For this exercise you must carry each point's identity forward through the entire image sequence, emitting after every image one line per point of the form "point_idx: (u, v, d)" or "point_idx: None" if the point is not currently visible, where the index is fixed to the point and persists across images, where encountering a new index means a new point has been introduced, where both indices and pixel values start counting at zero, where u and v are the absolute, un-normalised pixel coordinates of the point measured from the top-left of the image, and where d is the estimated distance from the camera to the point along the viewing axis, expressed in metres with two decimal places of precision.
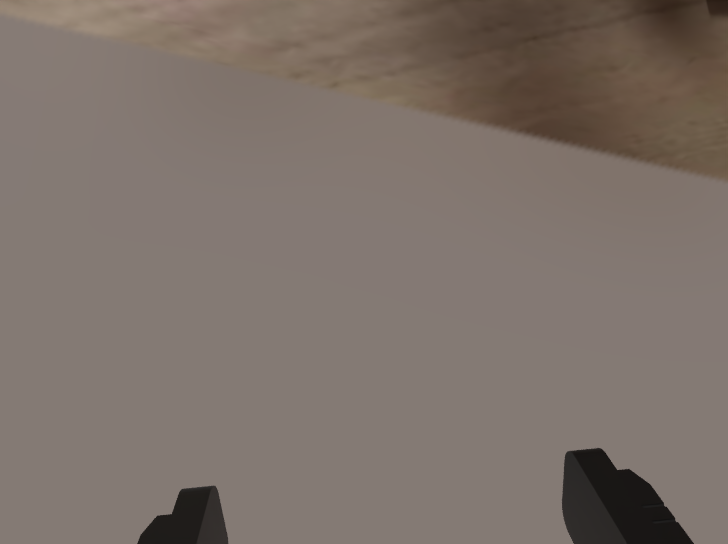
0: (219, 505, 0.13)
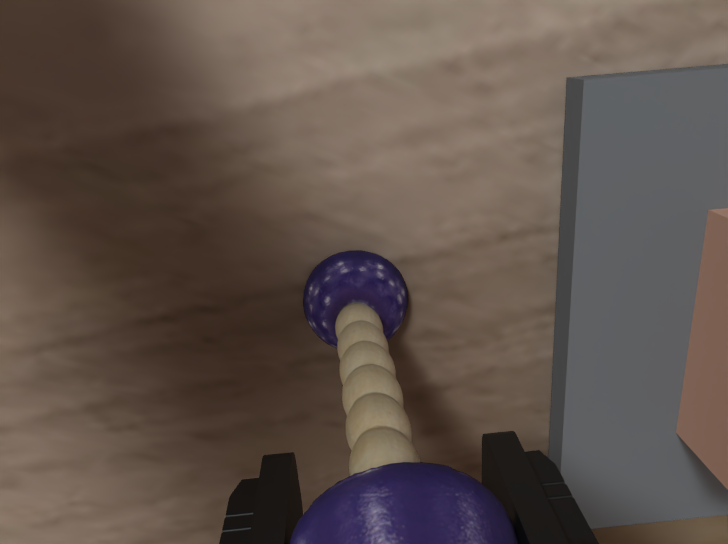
0: (296, 471, 0.14)
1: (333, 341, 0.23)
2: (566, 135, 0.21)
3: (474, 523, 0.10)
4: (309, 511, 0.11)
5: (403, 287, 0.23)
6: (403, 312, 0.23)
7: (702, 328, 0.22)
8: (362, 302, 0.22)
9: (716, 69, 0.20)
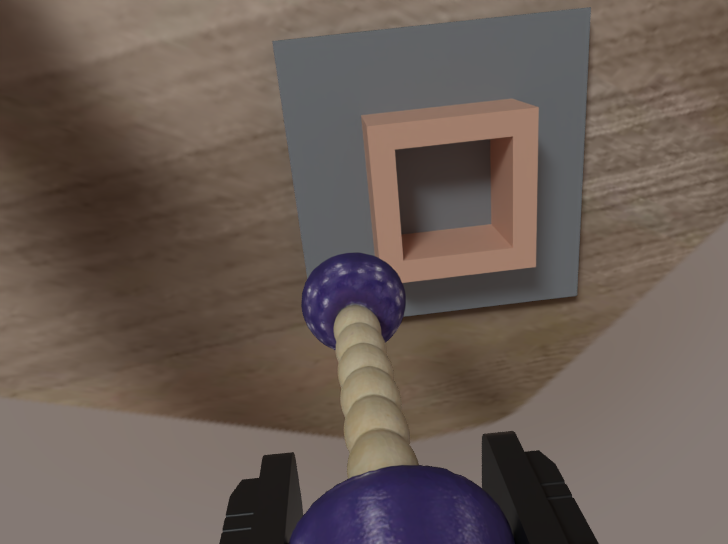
0: (296, 471, 0.14)
1: (331, 343, 0.23)
2: None
3: (472, 526, 0.10)
4: (307, 514, 0.11)
5: (401, 289, 0.23)
6: (401, 314, 0.23)
7: (368, 186, 0.39)
8: (360, 304, 0.22)
9: (345, 33, 0.36)
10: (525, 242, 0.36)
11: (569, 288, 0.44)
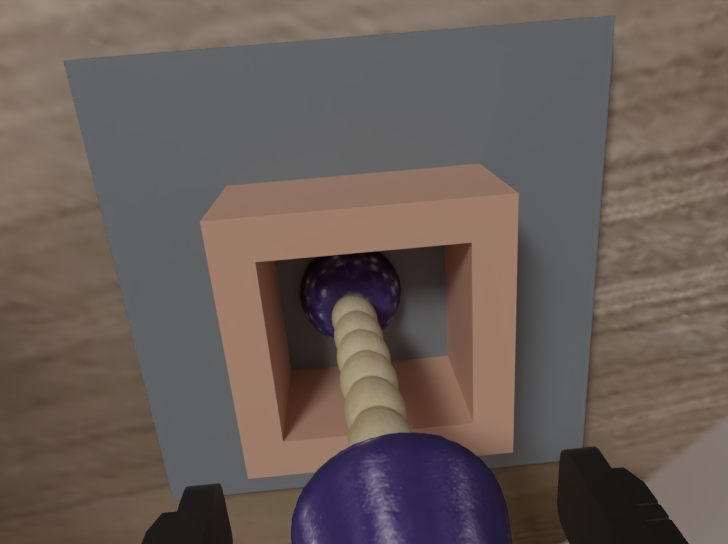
0: (223, 502, 0.13)
1: (330, 332, 0.23)
2: None
3: (465, 485, 0.11)
4: (313, 479, 0.12)
5: (396, 279, 0.24)
6: (397, 303, 0.24)
7: None
8: (357, 294, 0.22)
9: (191, 50, 0.21)
10: (495, 414, 0.21)
11: (570, 448, 0.28)
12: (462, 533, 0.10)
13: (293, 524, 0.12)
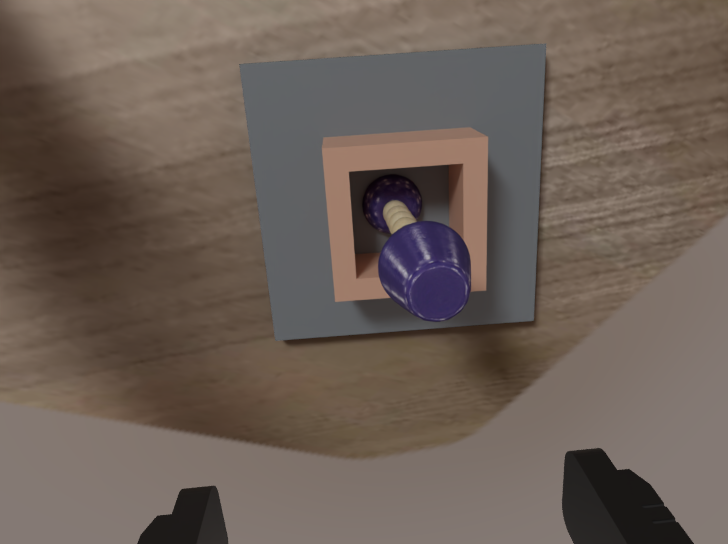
0: (219, 505, 0.13)
1: (380, 224, 0.40)
2: None
3: (451, 236, 0.27)
4: None
5: (420, 195, 0.40)
6: (419, 209, 0.40)
7: None
8: (397, 200, 0.39)
9: (310, 59, 0.37)
10: (475, 266, 0.38)
11: (526, 313, 0.44)
12: (449, 244, 0.26)
13: (380, 258, 0.28)
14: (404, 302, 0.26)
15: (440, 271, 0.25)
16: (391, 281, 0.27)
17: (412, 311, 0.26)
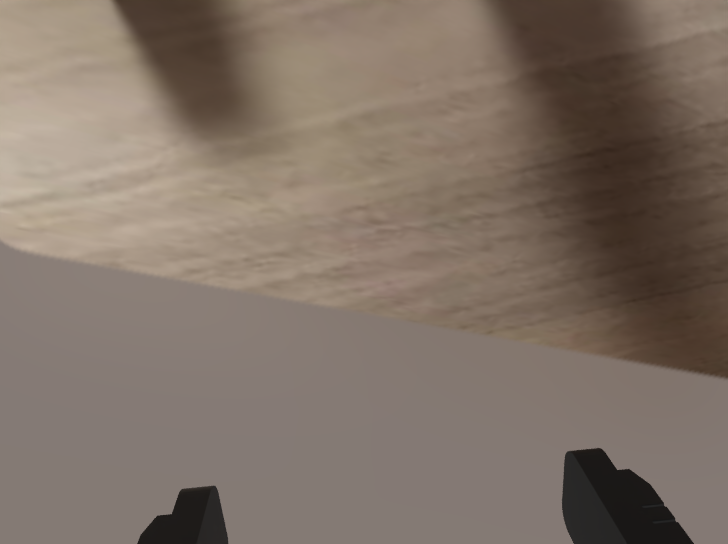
0: (219, 505, 0.13)
1: None
2: None
3: None
4: None
5: None
6: None
7: None
8: None
9: None
10: None
11: None
12: None
13: None
14: None
15: None
16: None
17: None
